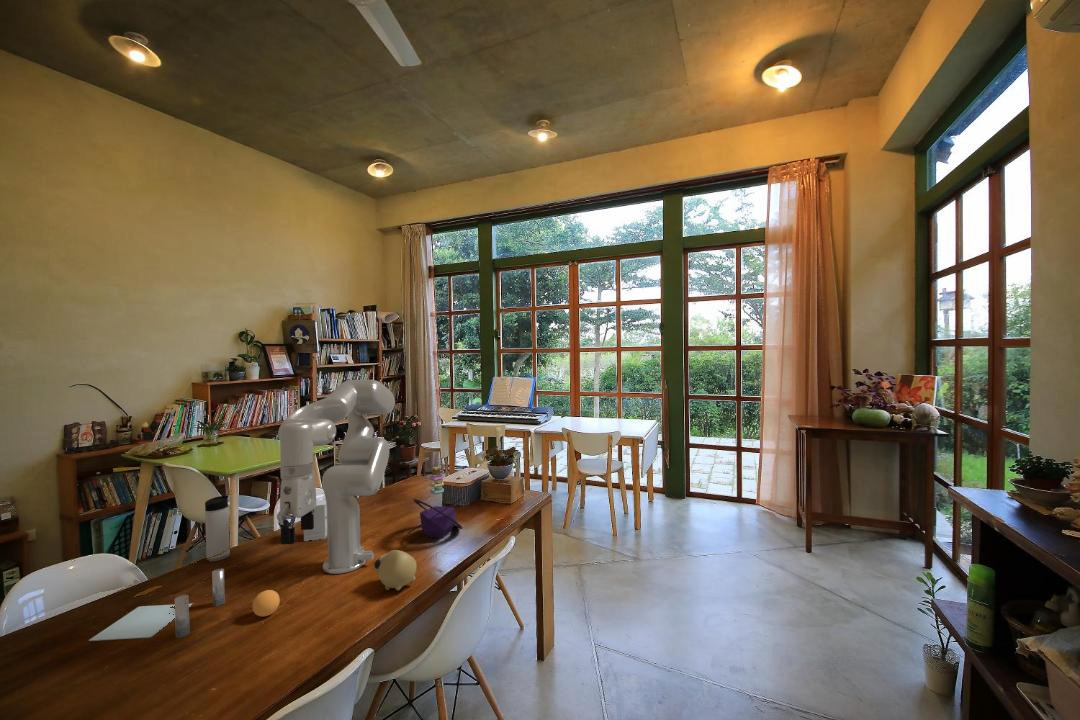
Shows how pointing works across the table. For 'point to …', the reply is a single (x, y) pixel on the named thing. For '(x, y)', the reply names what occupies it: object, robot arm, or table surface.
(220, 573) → the post right
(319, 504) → the supplement box
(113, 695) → the table surface
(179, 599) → the post left
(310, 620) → the table surface
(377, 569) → the toy pig
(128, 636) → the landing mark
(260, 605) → the ball
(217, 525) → the travel mug
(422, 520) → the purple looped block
